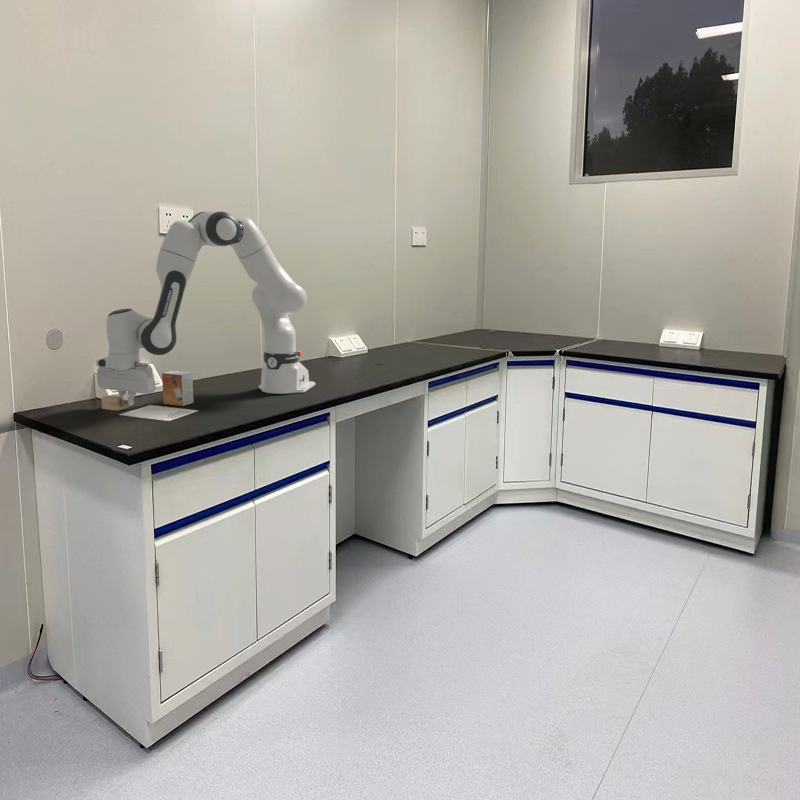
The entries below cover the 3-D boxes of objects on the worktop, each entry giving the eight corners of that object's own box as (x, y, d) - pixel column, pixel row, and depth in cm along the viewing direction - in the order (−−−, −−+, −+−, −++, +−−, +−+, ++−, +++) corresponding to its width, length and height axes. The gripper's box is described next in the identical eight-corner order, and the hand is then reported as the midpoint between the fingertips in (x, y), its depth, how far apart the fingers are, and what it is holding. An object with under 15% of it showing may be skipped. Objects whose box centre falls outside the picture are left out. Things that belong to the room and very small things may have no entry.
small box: (163, 404, 215) (161, 373, 213) (174, 400, 220) (172, 370, 218) (183, 406, 213) (181, 374, 210) (194, 403, 218) (192, 371, 215)
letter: (150, 405, 213) (150, 404, 213) (198, 411, 207) (198, 410, 207) (118, 415, 201) (118, 414, 200) (168, 421, 194) (168, 420, 194)
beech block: (116, 406, 213) (115, 394, 212) (131, 407, 211) (130, 395, 210) (102, 410, 208) (101, 397, 207) (117, 411, 206) (116, 399, 205)
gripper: (158, 362, 204) (161, 405, 207) (107, 357, 211) (110, 399, 214) (144, 365, 198) (147, 409, 201) (91, 360, 205) (95, 403, 208)
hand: (128, 404), depth 207 cm, fingers closed
